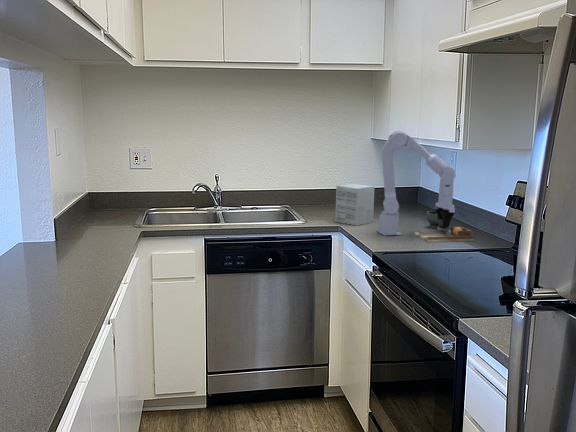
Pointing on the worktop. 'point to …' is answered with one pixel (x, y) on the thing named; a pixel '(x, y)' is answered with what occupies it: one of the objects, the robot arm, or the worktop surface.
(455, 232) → the ball
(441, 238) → the pitch
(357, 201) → the supplement box
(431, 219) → the mortar and pestle
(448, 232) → the kicker
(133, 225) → the worktop surface
